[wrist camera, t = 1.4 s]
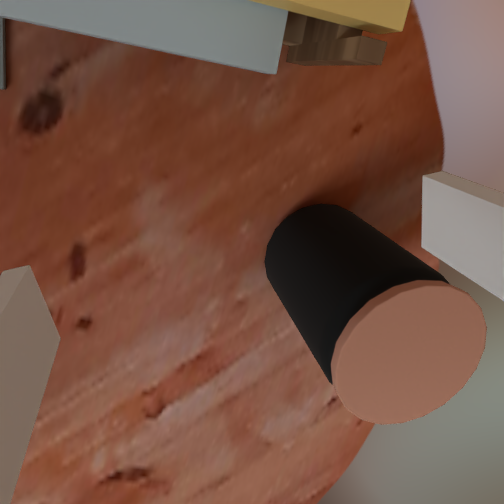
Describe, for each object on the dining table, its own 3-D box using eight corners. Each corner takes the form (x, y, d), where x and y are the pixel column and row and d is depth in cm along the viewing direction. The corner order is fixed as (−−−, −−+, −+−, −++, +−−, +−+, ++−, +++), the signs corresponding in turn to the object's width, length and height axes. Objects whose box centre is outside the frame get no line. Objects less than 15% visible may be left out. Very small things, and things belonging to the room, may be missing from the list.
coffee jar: (339, 305, 47) (443, 430, 31) (247, 288, 43) (310, 420, 27) (377, 213, 43) (516, 300, 27) (281, 188, 40) (375, 269, 24)
